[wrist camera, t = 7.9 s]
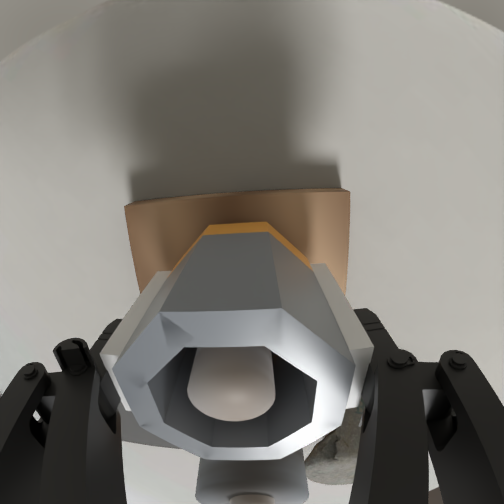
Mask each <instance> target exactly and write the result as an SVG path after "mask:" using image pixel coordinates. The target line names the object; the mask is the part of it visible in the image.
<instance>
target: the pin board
mask: <svg viewBox="0 0 504 504" xmlns="http://www.w3.org/2000/svg"><path fill="white" fill-rule="evenodd" d="M124 208H125V215H126V222H127V228H128V234H129V240H130V246H131V251H132V256H133V261H134V266H135V271H136V276H137V281H138V285H139V290H140V294H141V293H142V292H143V290H144V289H145V287H146V286H147V285H148V283H149V282H150V281H151V279H152V278H153V277H154V275H155V274H156V273H157V271H172V270H173V268H174V267H175V265H176V264H177V263H178V261H179V260H180V259H181V258H182V257H183V255H184V254H185V253H186V252H187V251H188V249H189V248H190V247H191V246H192V245H193V243H194V242H195V241H196V240H197V239H198V238H199V236H200V235H201V234H202V233H203V232H204V230H205V229H206V228H207V227H208V226H209V225H216V224H232V223H250V222H267V223H269V224H270V225H271V226H272V227H273V228H274V229H275V230H276V231H278V232H279V233H280V234H281V235H282V236H283V237H284V238H285V239H287V240H288V241H289V242H290V243H291V244H292V245H293V246H294V247H295V248H297V249H298V250H299V251H300V252H301V253H302V254H303V255H304V256H305V257H306V258H307V259H308V261H309V263H310V264H316V263H325V264H326V265H327V267H328V269H329V270H330V272H331V274H332V275H333V277H334V278H335V280H336V282H337V283H338V285H339V287H340V288H341V290H342V292H343V293H344V295H345V292H346V280H347V266H348V250H349V227H350V191H347V190H345V189H342V188H321V189H286V190H263V191H245V192H229V193H216V194H203V195H191V196H181V197H170V198H161V199H152V200H143V201H135V202H132V203H130V204H128V205H126V206H124ZM187 393H188V397H189V399H190V401H191V403H192V404H193V405H194V406H195V407H196V408H197V409H198V410H199V411H201V412H202V413H204V414H206V415H208V416H210V417H213V418H216V419H219V420H224V421H244V420H249V419H253V418H256V417H258V416H260V415H262V414H264V413H265V412H266V411H268V410H269V409H270V407H271V406H272V405H273V403H274V400H275V384H274V374H273V363H272V353H271V350H270V349H268V348H267V347H265V346H249V347H197V351H196V355H195V359H194V363H193V367H192V371H191V375H190V379H189V383H188V388H187ZM195 497H196V499H197V500H198V502H200V503H201V504H303V503H304V502H305V501H306V500H307V499H308V498H309V491H308V484H307V477H306V470H305V463H304V456H303V450H302V448H301V449H299V450H297V451H295V452H293V453H291V454H289V455H287V456H285V457H283V458H281V459H271V460H210V459H203V458H201V457H200V464H199V471H198V478H197V486H196V494H195Z"/></svg>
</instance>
